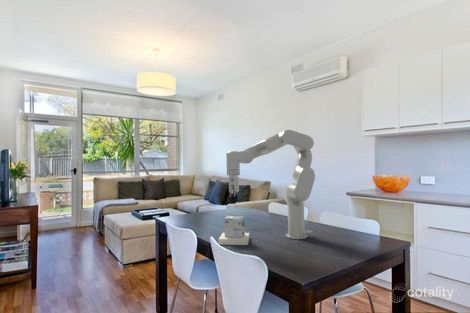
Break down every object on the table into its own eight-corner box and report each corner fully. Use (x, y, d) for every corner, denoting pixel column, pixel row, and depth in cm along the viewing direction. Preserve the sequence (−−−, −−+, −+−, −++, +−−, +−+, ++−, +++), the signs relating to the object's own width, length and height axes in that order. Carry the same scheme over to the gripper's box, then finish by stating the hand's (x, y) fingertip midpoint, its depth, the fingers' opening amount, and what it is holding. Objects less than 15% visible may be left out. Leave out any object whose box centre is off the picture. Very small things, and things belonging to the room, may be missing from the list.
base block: (249, 237, 163) (249, 232, 163) (247, 245, 149) (247, 239, 149) (222, 237, 165) (222, 232, 165) (218, 244, 151) (218, 239, 151)
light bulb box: (245, 234, 159) (244, 216, 159) (242, 237, 152) (242, 218, 152) (227, 233, 161) (227, 215, 162) (224, 237, 155) (223, 217, 155)
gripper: (238, 173, 149) (238, 204, 148) (241, 171, 166) (241, 200, 166) (224, 173, 150) (225, 204, 149) (228, 172, 167) (229, 200, 166)
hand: (234, 202), depth 157 cm, fingers open, 9 cm apart
